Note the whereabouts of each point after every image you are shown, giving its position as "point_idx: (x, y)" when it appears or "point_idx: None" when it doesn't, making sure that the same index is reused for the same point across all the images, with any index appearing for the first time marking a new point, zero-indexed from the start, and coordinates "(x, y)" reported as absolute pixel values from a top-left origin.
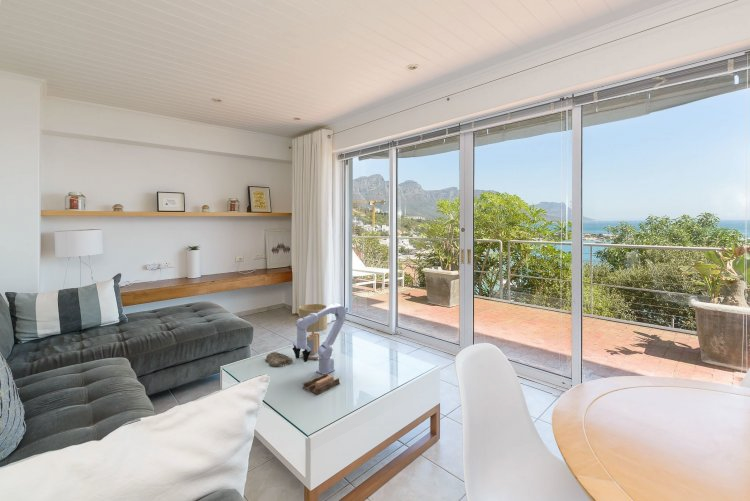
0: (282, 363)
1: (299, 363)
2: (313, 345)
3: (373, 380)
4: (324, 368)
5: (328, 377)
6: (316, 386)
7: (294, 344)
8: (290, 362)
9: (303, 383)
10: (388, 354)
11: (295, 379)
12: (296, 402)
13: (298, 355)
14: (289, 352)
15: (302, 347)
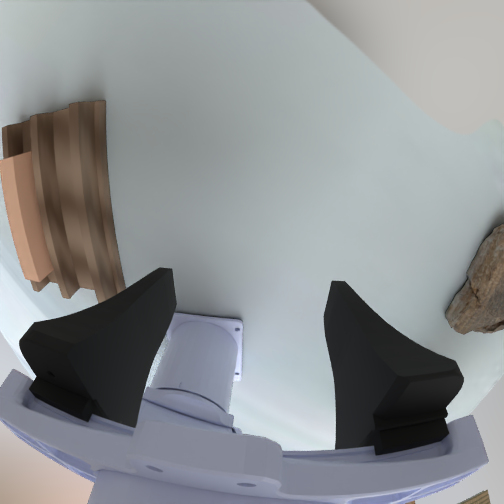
0: (483, 265)
1: (408, 334)
2: None
3: None
4: (168, 346)
5: (22, 251)
6: (25, 152)
7: (446, 468)
8: (454, 307)
9: (76, 102)
10: None
11: (258, 150)
12: (42, 17)
13: (333, 333)
14: (491, 362)
15: (58, 449)
